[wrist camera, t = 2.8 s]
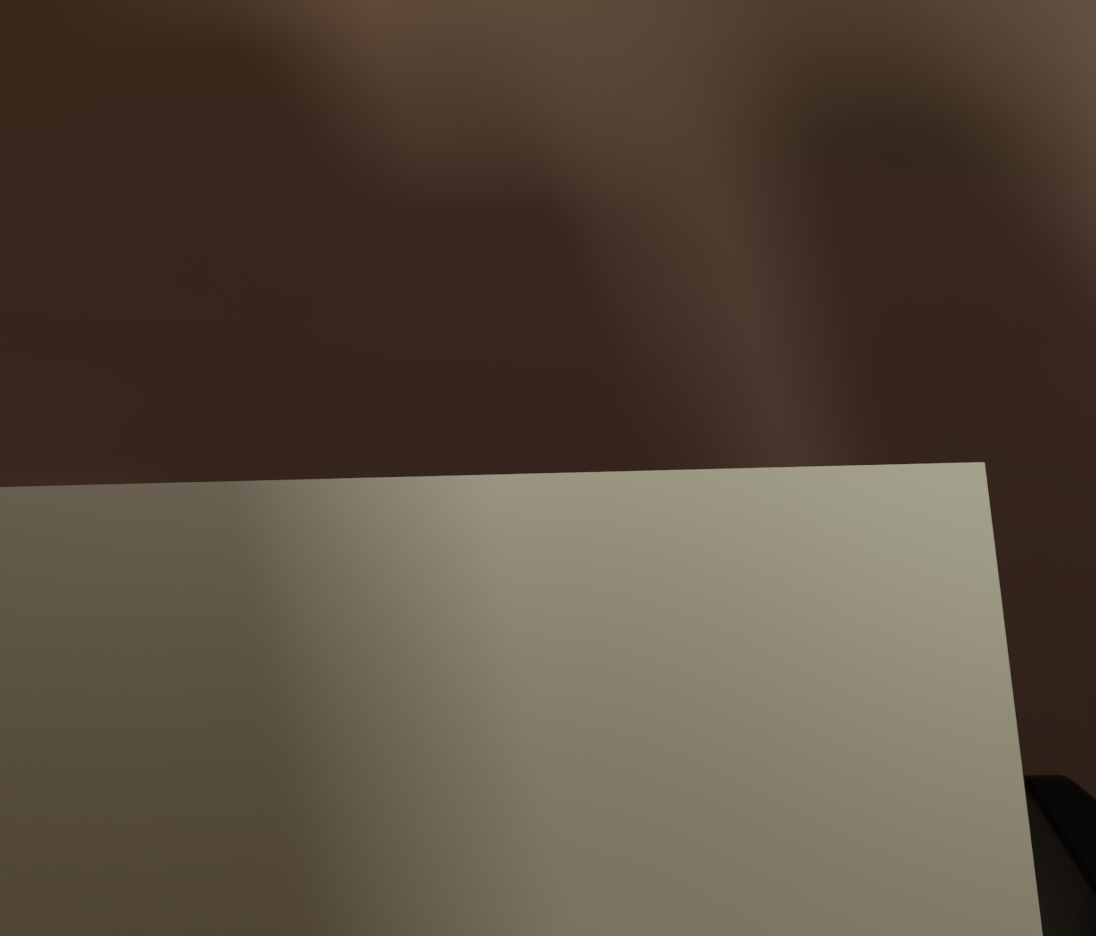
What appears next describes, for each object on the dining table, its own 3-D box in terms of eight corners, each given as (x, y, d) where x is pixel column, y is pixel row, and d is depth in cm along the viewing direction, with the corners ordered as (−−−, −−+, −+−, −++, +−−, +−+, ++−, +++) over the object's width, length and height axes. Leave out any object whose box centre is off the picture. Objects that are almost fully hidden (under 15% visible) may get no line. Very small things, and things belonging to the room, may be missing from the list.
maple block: (682, 940, 16) (1157, 1876, 3) (387, 947, 16) (-285, 1893, 3) (667, 642, 17) (986, 463, 4) (391, 649, 17) (-110, 489, 4)
